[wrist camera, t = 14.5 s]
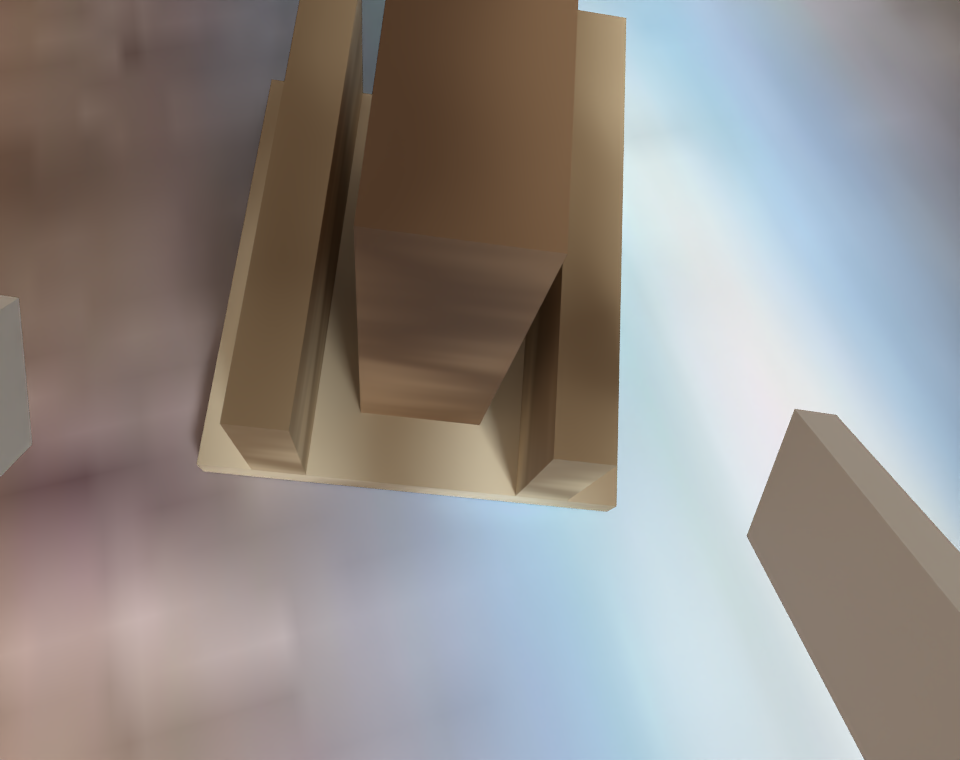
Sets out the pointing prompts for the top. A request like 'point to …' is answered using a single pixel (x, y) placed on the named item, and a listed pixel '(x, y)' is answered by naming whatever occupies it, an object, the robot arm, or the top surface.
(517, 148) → the tile
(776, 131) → the top surface
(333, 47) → the rack
